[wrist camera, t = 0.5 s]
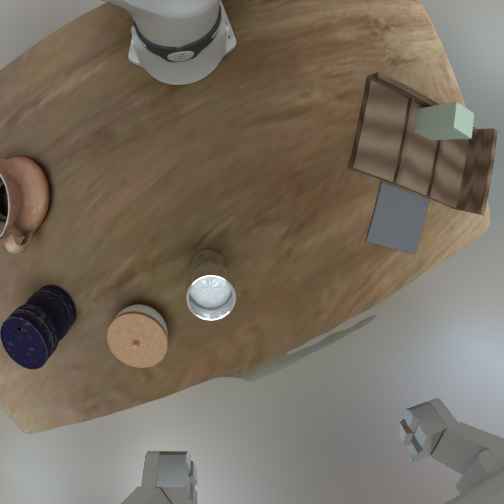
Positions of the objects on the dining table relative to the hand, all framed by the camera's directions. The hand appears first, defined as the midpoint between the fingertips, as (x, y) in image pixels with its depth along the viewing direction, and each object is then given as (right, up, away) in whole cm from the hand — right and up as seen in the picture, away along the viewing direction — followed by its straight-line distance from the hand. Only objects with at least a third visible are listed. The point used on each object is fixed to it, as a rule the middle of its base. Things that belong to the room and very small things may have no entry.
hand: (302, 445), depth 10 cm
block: (+33, +32, +43) cm, 63 cm away
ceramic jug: (-44, +17, +38) cm, 60 cm away
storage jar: (-40, -4, +43) cm, 60 cm away
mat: (+28, +13, +50) cm, 58 cm away
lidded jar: (-22, -6, +47) cm, 52 cm away
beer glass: (-10, +4, +46) cm, 47 cm away
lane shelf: (+32, +29, +46) cm, 63 cm away
